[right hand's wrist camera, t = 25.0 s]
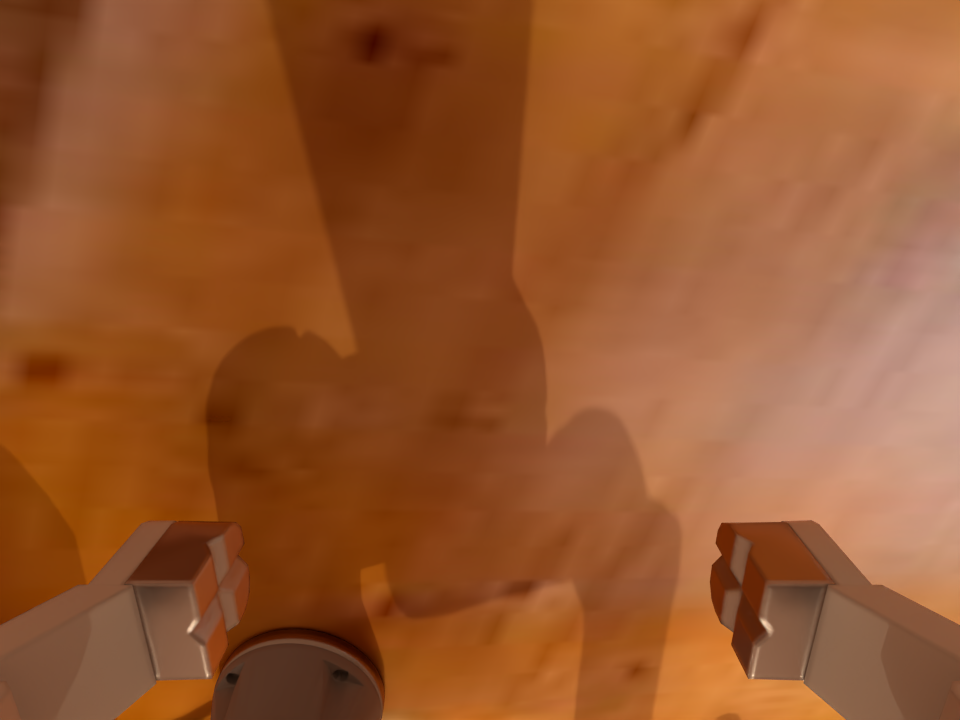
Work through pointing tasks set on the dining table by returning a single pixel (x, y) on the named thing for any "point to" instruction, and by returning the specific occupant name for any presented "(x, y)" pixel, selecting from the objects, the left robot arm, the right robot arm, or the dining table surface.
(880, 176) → the dining table surface
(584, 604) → the dining table surface
